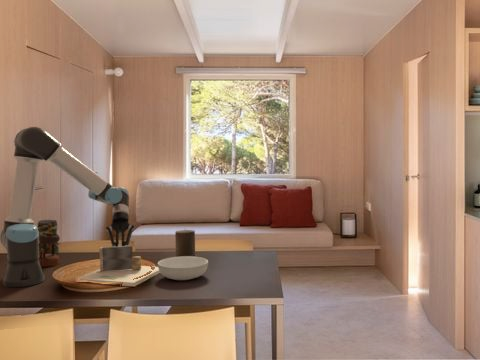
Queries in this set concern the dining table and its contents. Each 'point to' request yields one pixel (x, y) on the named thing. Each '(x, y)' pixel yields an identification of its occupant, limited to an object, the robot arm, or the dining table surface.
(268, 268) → the dining table surface
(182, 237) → the pillar candle
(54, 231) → the camouflage backpack
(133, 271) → the board
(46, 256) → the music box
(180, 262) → the serving bowl
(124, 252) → the peg head
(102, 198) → the robot arm
